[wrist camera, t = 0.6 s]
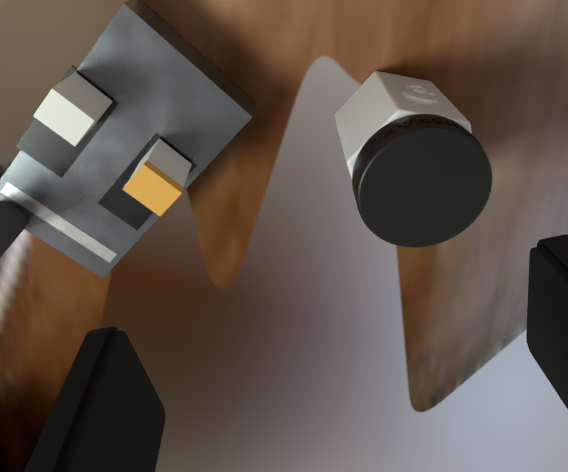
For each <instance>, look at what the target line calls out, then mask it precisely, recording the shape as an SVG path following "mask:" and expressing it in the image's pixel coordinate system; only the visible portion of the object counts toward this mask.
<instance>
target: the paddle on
mask: <svg viewBox="0 0 568 472" xmlns="http://www.w3.org/2000/svg"><path fill="white" fill-rule="evenodd" d="M191 165H192V164H191V163H190V162H189V161H187V160H186V159H185V158H184V157H182V156H181V155H180V154H179V153H177V152H176V151H175V150H173V149H172V148H171V147H170V146H168V145H167V144H166V143H165V142H163V141H162V140H161V139H160V138H159V139H158V140H157V142H156V143H155V144H154V145H153V146H152V148H151V149H150V150H149V151H148V152H147V153H146V155H145V156H144V157H143V158H142V159H141V161H140V162H139V164H138V166H137V167H136V169H135V171H134V172H133V174H132V176H131V178H130V179H129V181H128V182H127V183H126V184H125V186H124V188H123V189H122V190H124V191H125V192H127V193H128V194H129V195H131V196H132V197H133V198H135V199H136V200H138V201H139V202H140V203H142V204H143V205H145V206H146V207H147V208H149V209H150V210H152V211H153V212H154V213H156V214H157V215H158V216H161V215H162V214H163V213H164V212H165V211H166V210H167V209H168V208H169V207H170V206H171V205H172V204H173V203H174V201H175V200H176V199H177V198H178V197H179V196H180V195H181V194H182V192H183V189H184V188H183V187H184V184H185V181H186V179H187V176H188V173H189V170H190V168H191Z"/></svg>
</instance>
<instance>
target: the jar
mask: <svg viewBox="0 0 568 472" xmlns="http://www.w3.org/2000/svg"><path fill="white" fill-rule="evenodd" d="M334 118H335V122H336V125H337V129H338V133H339V136H340V140H341V144H342V148H343V151H344V155H345V159H346V162H347V166H348V169H349V172H350V176H351V179H352V186H353V191H354V195H355V199H356V203H357V206H358V210H359V213H360V215H361V218H362V219H363V221H364V223H365V224H366V226H367V227H368V228H369V229H370V230H371V231H372V232H373V233H374V234H375V235H376V236H378V237H379V238H381V239H383V240H385V241H386V242H389V243H391V244H395V245H398V246H403V247H426V246H431V245H435V244H439V243H442V242H444V241H447V240H449V239H451V238H453V237H455V236H456V235H458V234H459V233H461V232H462V231H464V230H465V229H466V228H468V227H469V226H470V225H471V224H472V223H473V222H474V221H475V220H476V218H477V217H478V216H479V215H480V213H481V212H482V210H483V209H484V207H485V205H486V203H487V201H488V198H489V195H490V192H491V187H492V170H491V166H490V162H489V159H488V157H487V155H486V153H485V152H484V150H483V148H482V146H481V145H480V143H479V142H478V141H477V139H476V138H475V137H474V136H473V135H472V131H471V125H470V122H469V121H468V120H467V119H466V118H465V117H464V116H463V115H462V114H461V113H460V111H459V110H458V109H457V108H456V107H455V106H454V105H453V104H452V103H451V102H450V101H449V100H448V99H447V98H446V96H445V95H444V94H443V93H442V92H441V91H440V90H439V89H438V88H437V87H436V86H435V85H434V84H433V83H432V82H431V81H427V80H421V79H416V78H411V77H406V76H400V75H395V74H390V73H385V72H380V71H375V72H373V73H372V74H371V76H370V77H369V78H368V79H367V80H366V81H365V82H364V83H363V84H362V85H361V86H360V87H359V88H358V90H357V91H356V92H355V93H354V94H353V95H352V96H351V97H350V98H349V99H348V100H347V101H346V102H345V104H344V105H343V106H342V107H341V108H340V109H339V110H338V111H337V112H336V113H335V115H334Z"/></svg>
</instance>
